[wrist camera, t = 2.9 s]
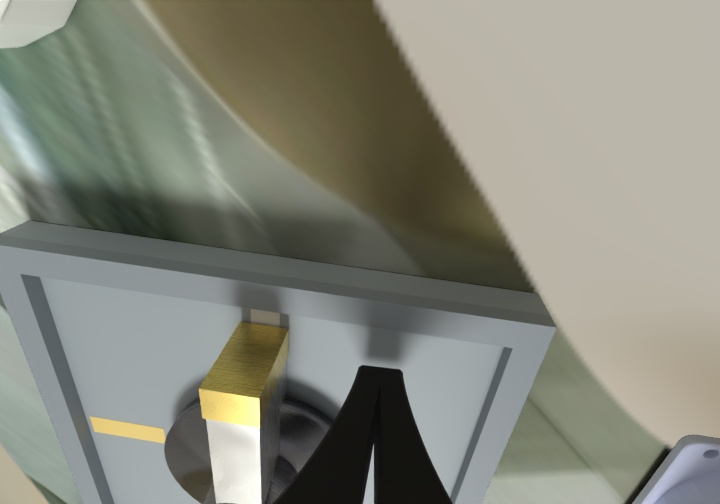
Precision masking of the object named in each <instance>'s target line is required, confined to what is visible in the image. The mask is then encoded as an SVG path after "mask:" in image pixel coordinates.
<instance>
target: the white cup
mask: <svg viewBox="0 0 720 504" xmlns="http://www.w3.org/2000/svg"><path fill="white" fill-rule="evenodd" d="M76 2H77V0H0V48H16V47H24V46H26V45H28V44H30V43H32V42H34V41H36V40H38V39H40V38H42V37H44V36H46V35H48V34H50V33H52V32H54V31H56V30H58V29H60V28H62V27H64V26H65V24H66V22H67V20H68V18H69V16H70V14H71V12H72V10H73V8H74V6H75V4H76Z"/></svg>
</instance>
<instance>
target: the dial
mask: <svg viewBox="0 0 720 504" xmlns="http://www.w3.org/2000/svg"><path fill="white" fill-rule="evenodd" d="M288 345H289V329H287V328H280V327H274V326H267V325H260V324H254V323H247V322H241V321H240V322H239V324H238V326H237V327H236V329H235V330H234V332H233V334H232V335H231V337H230V339H229V340H228V342H227V343H226V345H225V347H224V348H223V350H222V352H221V353H220V355H219V356H218V358H217V360H216V361H215V363H214V364H213V366H212V368H211V369H210V371H209V373H208V374H207V376H206V377H205V379H204V381H203V382H202V384H201V386H200V387H199V396H200V397H199V398H197V399H196V400H194V401H192V402H191V403H190V404H188V405H187V406H186V407H185V408H184V409H183V410H182V411H181V413H180V414H179V416H178V418H177V419H176V421H175V422H174V424H173V426H172V427H171V429H170V430H169V432H168V434H167V437H166V440H165V446H164V453H165V459H166V462H167V466H168V468H169V470H170V472H171V474H172V475H173V477H174V478H175V480H176V481H177V482H178V483H179V485H180V486H181V487H182V488H183V489H184V490H185V491H186V492H187V493H188V494H189V495H190V496H192V497H193V498H194V499H195V500H197V501H198V502H199V503H201V504H272V503H273V502H274V501H275V500H276V499H277V498H278V497H279V496H280V495H281V493H282V492H283V491H284V490H285V489H286V488H287V486H288V485H289V484H290V483H291V481H292V480H293V479H294V478H295V476H296V475H297V474H298V473H299V471H300V470H301V469H302V468H303V466H304V465H305V464H306V462H307V461H308V460H309V458H310V457H311V455H312V454H313V453H314V451H315V450H316V448H317V447H318V445H319V444H320V442H321V441H322V439H323V438H324V436H325V435H326V433H327V431H328V430H329V428H330V427H331V425H332V423H333V422H334V421H333V420H332V419H331V418H329V417H328V416H327V415H325V414H324V413H322V412H321V411H319V410H318V409H316V408H314V407H312V406H310V405H308V404H307V403H305V402H302V401H300V400H297V399H295V398H292V397H290V396H286V374H287V357H288Z"/></svg>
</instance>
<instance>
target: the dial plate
mask: <svg viewBox="0 0 720 504" xmlns="http://www.w3.org/2000/svg"><path fill="white" fill-rule="evenodd" d="M0 293H1V296H2V298H3V301H4V303H5V306H6V308H7V311H8V313H9V316H10V318H11V321H12V323H13V326H14V329H15V331H16V334H17V336H18V339H19V341H20V344H21V346H22V349H23V351H24V354H25V356H26V359H27V361H28V364H29V367H30V369H31V372H32V374H33V377H34V379H35V382H36V384H37V387H38V389H39V392H40V394H41V397H42V400H43V402H44V405H45V407H46V410H47V412H48V415H49V417H50V420H51V422H52V425H53V427H54V430H55V432H56V435H57V438H58V440H59V443H60V445H61V448H62V450H63V453H64V455H65V458H66V460H67V463H68V465H69V468H70V471H71V473H72V476H73V478H74V481H75V483H76V486H77V488H78V491H79V493H80V496H81V498H82V501H83V503H84V504H201V503H199V502H198V501H197V500H195V499H194V498H193V497H192V496H190V495H189V494H188V493H187V492H186V491H185V490H184V489H183V488H182V487H181V486H180V485H179V483H178V482H177V481H176V480H175V478H174V477H173V475H172V474H171V472H170V470H169V468H168V466H167V462H166V459H165V453H164V446H165V440H166V437H167V434H168V432H169V430H170V429H171V427H172V426H173V424H174V422H175V421H176V419H177V418H178V416H179V414H180V413H181V411H182V410H183V409H184V408H185V407H186V406H187V405H188V404H190V403H191V402H192V401H194V400H196V399H197V398H199V397H200V396H199V387H200V386H201V384H202V382H203V381H204V379H205V377H206V376H207V374H208V373H209V371H210V369H211V368H212V366H213V364H214V363H215V361H216V360H217V358H218V356H219V355H220V353H221V352H222V350H223V348H224V347H225V345H226V343H227V342H228V340H229V339H230V337H231V335H232V334H233V332H234V330H235V329H236V327H237V326H238V324H239V322H240V321H241V322H247V323H254V324H260V325H267V326H274V327H280V328H287V329H289V345H288V357H287V374H286V396H290V397H292V398H295V399H297V400H300V401H302V402H305V403H307V404H308V405H310V406H312V407H314V408H316V409H318V410H319V411H321V412H322V413H324V414H325V415H327V416H328V417H329V418H331V419H332V420H333V421H334V420H335V418H336V417H337V415H338V413H339V411H340V409H341V407H342V405H343V404H344V402H345V400H346V398H347V396H348V394H349V392H350V389H351V387H352V385H353V382H354V380H355V377H356V374H357V371H358V367H360V366H361V365H367V366H376V367H384V368H393V369H400V370H401V371H402V372H403V378H404V384H405V388H406V393H407V396H408V400H409V403H410V407H411V410H412V413H413V416H414V419H415V422H416V424H417V427H418V430H419V433H420V435H421V438H422V440H423V443H424V445H425V448H426V450H427V452H428V455H429V457H430V459H431V461H432V463H433V466H434V468H435V470H436V472H437V474H438V476H439V478H440V480H441V482H442V484H443V486H444V488H445V490H446V492H447V493H448V495H449V497H450V499H451V501H452V503H453V504H481V503H482V501H483V498H484V496H485V494H486V491H487V489H488V487H489V484H490V482H491V480H492V477H493V475H494V473H495V470H496V468H497V466H498V463H499V461H500V459H501V456H502V454H503V452H504V449H505V447H506V445H507V442H508V440H509V438H510V435H511V433H512V431H513V428H514V426H515V424H516V421H517V419H518V417H519V414H520V412H521V410H522V407H523V405H524V403H525V400H526V398H527V396H528V393H529V391H530V389H531V386H532V384H533V382H534V379H535V377H536V375H537V372H538V370H539V368H540V365H541V363H542V361H543V358H544V356H545V354H546V351H547V349H548V347H549V344H550V342H551V340H552V337H553V335H554V333H555V330H556V328H557V327H556V325H555V324H554V322H553V320H552V318H551V316H550V314H549V312H548V311H547V309H546V307H545V305H544V303H543V301H542V299H541V298H540V296H539V294H535V293H528V292H522V291H515V290H508V289H501V288H494V287H487V286H480V285H473V284H466V283H459V282H452V281H445V280H438V279H431V278H424V277H418V276H411V275H404V274H397V273H390V272H383V271H376V270H369V269H362V268H355V267H348V266H341V265H334V264H327V263H321V262H314V261H307V260H300V259H293V258H286V257H279V256H272V255H265V254H258V253H251V252H244V251H237V250H230V249H223V248H217V247H210V246H203V245H196V244H189V243H182V242H175V241H168V240H161V239H154V238H147V237H140V236H133V235H126V234H119V233H113V232H106V231H99V230H92V229H85V228H78V227H71V226H64V225H57V224H50V223H43V222H36V221H27V222H25V223H23V224H20V225H18V226H16V227H14V228H11V229H9V230H7V231H5V232H3V233H0ZM363 504H374V445H373V450H372V456H371V462H370V467H369V473H368V479H367V484H366V490H365V496H364V501H363Z"/></svg>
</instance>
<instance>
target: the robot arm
mask: <svg viewBox="0 0 720 504" xmlns="http://www.w3.org/2000/svg"><path fill="white" fill-rule="evenodd" d="M373 445H374V504H453V503H452V501H451V499H450V497H449V495H448V493H447V492H446V490H445V488H444V486H443V484H442V482H441V480H440V478H439V476H438V474H437V472H436V470H435V468H434V466H433V463H432V461H431V459H430V457H429V455H428V452H427V450H426V448H425V445H424V443H423V440H422V438H421V435H420V433H419V430H418V427H417V424H416V422H415V419H414V416H413V413H412V410H411V407H410V403H409V400H408V396H407V393H406V388H405V384H404V378H403V372H402V371H401V370H400V369H393V368H384V367H376V366H367V365H361V366H360V367H358V371H357V374H356V377H355V380H354V382H353V385H352V387H351V389H350V392H349V394H348V396H347V398H346V400H345V402H344V404H343V405H342V407H341V409H340V411H339V413H338V415H337V417H336V418H335V420H334V422H333V423H332V425H331V427H330V428H329V430H328V431H327V433H326V435H325V436H324V438H323V439H322V441H321V442H320V444H319V445H318V447H317V448H316V450H315V451H314V453H313V454H312V455H311V457H310V458H309V460H308V461H307V462H306V464H305V465H304V466H303V468H302V469H301V470H300V471H299V473H298V474H297V475H296V476H295V478H294V479H293V480H292V481H291V483H290V484H289V485H288V486H287V488H286V489H285V490H284V491H283V492H282V493H281V495H280V496H279V497H278V498H277V499H276V500H275V501H274V502H273V503H272V504H363V501H364V496H365V490H366V484H367V479H368V473H369V467H370V462H371V456H372V450H373ZM632 504H720V439H719V438H713V437H706V436H700V435H688V436H685V437H683V438H681V439H680V440H679V441H678V443H677V444H676V445H675V446H674V448H673V449H672V450H671V452H670V453H669V454H668V456H667V457H666V459H665V460H664V461H663V463H662V464H661V465H660V467H659V468H658V469H657V471H656V472H655V473H654V475H653V476H652V477H651V479H650V480H649V481H648V483H647V484H646V485H645V487H644V488H643V490H642V491H641V492H640V494H639V495H638V496H637V498H636V499H635V500H634V502H633V503H632Z"/></svg>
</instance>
